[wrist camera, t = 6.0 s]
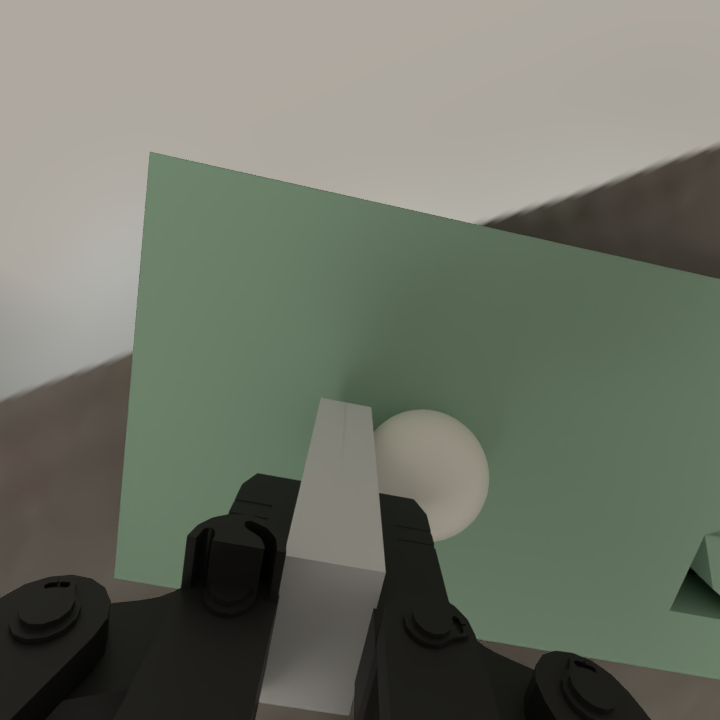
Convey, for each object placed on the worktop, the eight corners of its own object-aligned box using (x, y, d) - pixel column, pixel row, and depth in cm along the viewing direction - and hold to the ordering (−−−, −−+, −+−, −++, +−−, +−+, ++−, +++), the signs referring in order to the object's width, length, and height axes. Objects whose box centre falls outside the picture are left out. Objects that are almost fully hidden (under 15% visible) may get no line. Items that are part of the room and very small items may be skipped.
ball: (326, 501, 13) (393, 586, 11) (350, 390, 13) (430, 448, 10) (418, 488, 15) (496, 557, 12) (444, 391, 15) (534, 440, 12)
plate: (146, 533, 18) (113, 578, 15) (184, 167, 14) (149, 151, 12) (870, 659, 20) (941, 716, 17) (1056, 361, 16) (1178, 381, 14)
